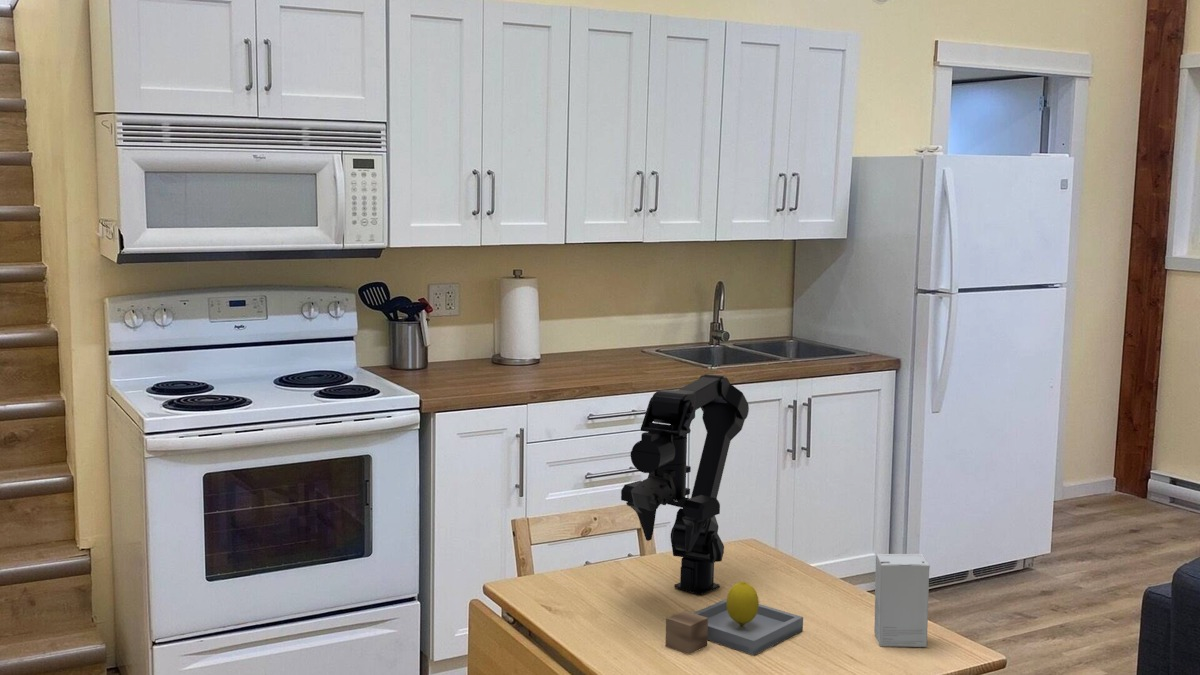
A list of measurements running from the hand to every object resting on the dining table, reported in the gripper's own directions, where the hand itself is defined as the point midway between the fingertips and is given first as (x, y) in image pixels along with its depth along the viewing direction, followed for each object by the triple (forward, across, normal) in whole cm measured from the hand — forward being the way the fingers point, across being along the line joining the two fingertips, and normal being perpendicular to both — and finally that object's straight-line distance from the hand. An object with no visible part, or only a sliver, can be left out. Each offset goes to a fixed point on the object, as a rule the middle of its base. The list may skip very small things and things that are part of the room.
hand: (668, 545), depth 214 cm
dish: (+12, +16, +1) cm, 20 cm away
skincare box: (+12, +38, +16) cm, 43 cm away
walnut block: (+12, +13, -11) cm, 21 cm away
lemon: (+11, +16, +1) cm, 19 cm away
